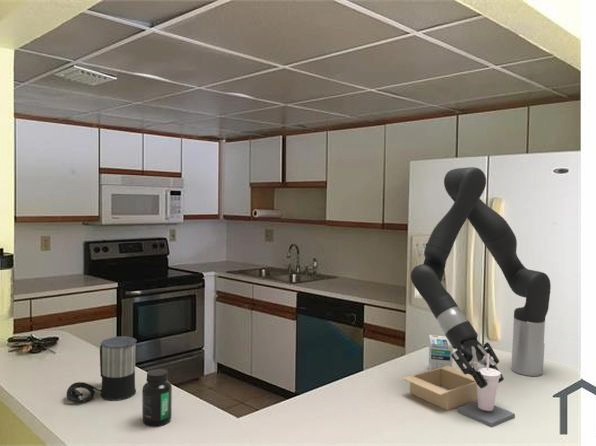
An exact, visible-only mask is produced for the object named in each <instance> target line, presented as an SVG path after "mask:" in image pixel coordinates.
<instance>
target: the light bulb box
mask: <svg viewBox="0 0 596 446" xmlns="http://www.w3.org/2000/svg"><path fill="white" fill-rule="evenodd" d="M428 341H429V342H428V369H429V370H428V371H430V370H434V369H438V368H441V367H445V366H450V367H453V360H454V359H453V358H452V356H451V354H453V353H454V348H453V347H452V345H451V344H450V342H449V341H448V339H447V337H446V336H445V335H444V336H443V335H435V334H434V335H433V334H429V339H428Z"/></svg>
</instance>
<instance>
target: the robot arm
mask: <svg viewBox="0 0 596 446" xmlns="http://www.w3.org/2000/svg"><path fill="white" fill-rule="evenodd" d="M443 185H444V189H445V192H446V193H447V194H448V196H449V197H450V198H451V201H453V204H452V206H451V207H450V209H449V210H448V211H447V212H446V214H445V215H444V216H443V217H442V218H441V220H439V222H438V223H437V224H436V226H435V227H433V230H432V232H431V234H430V236H429V238H428V240H427V243H426V245H425V248H424V250H423V254H424V255H423V256H424V260H423V264H417V265H415V266H414V267H413V269H412V270H411V272H410V282H411V283H412V285H413V286H414V288H415V289H416V290H417V292H418V293H419V295H420V296H421V297H422V298H423V299H422V300H424V301H425V302H426V304H427V305H428V308H429V310H430V312H431V313H432V315H433V316H434V317H435V319H436V321H437V323H438V325H439V328H440V329H441V331H442V332H443V334H444V336H446V337H447V339H448V341H449V342H450V344H451V345H452V347H453V350H454V351H453V354H451V356H452V358H453V359H452V360H454V362H455V363H456V365H457V366H458V368H459V370H461V371H462V372H463V373H464V374H465V375H466V374H470V375H471V376H472V377H473V378H474V380H475V381H476V383H477V385H478V386H479V387H480V388H484V387H486V386H487V385H488V384H487V382H486V380H485V379H484V377H483V376H482V374H481V372H480V371H479V372H478V367H479V366H478V364H479V365H482V366H483V367H487V354H489V368H493V369H496V370H498V371H499V372H500V370H499V368H498V367H497V365H498V364H499V363H500V360H499V358H498V356H497V355H496V352H495V351H494V350H493V347H492V346H491V344H490V342H485V343H484V344H482V343H481V342H480V341H478V336H479V334H478V332H477V331H476V330H475V328H474V326H473V325H472V323H471V322H470V321H469V319H468V318H467V315H466V314H465V313H464V312H463V311H462V310H461V308H460V307H459V306H458V304H457V303H456V301H455V300H454V298H453V297H452V295H451V294H450V292H448V291H447V290H446V288H445V287H444V285H443V284H442V281H443V278H444V273H445V270H446V265H447V260H448V258H449V256H450V254H451V252H452V250H453V246H454V244H455V242H456V239H457V237H458V235H459V234H460V231H461V229H462V227H463V226H464V224H465V222H466V220H468V221H469V223H470V224H471V226H472V228H474V230H475V232H476V233H477V234H478V237H479V238H480V240H481V242H482V243H483V245H484V246H485V247H486V249H487V250H488V252H489V253H490V255H491V256H492V257H493V260H494V261H495V262H496V264H497V265H498V266H499V269H500V270H501V272H502V275H504V278H505V280H506V282H507V284H508V287H509V288H510V290H511V291H512V292H513V293H514V294H515V295H517V296H519V297H522V298H525V303H524V305H523V307H517V308H515V309H514V311H513V323H512V324H513V325H512V326H513V327H512V328H513V329H512V349H511V362H510V363H511V366H510V369H511V371H512V372H515V373H517V374H520V375H524V376H528V377H533V376H534V377H538V376H542V375H543V372H544V360H545V358H544V357H545V327H546V316H547V315H548V312H549V307H550V297H551V287H552V286H551V285H552V284H551V280H550V277H549V275H548V274H546V273H544V272H543V271H538V270H534V269H528V268H527V267H526V266H525V265H524V264H523V263H522V262H521V260H520V258H519V257H518V255H517V254H518V253H517V248H518V247H517V245H518V242H517V237H516V234H515V233H514V231H513V229H512V228H511V226H510V224H509V223H508V222H507V220H506V219H505V218H504V217H503V216H501V215H500V214H499V213H498V212H497V211H495V210H494V209H493V208H491V207H490V206H488V205H487V204H486V203H485V202H484V201H483V200H482V199H481V197H482V195H483V193H484V191H485V188H486V186H487V177H486V175H485V173H484V171H483V170H482V169H481V168H479V167H474V166H473V167H472V166H471V167H468V166H467V167H461V168H460V167H457V168H453V169H450V170H449V171H448V172H446V173H445V176H444V179H443ZM492 358H493V359H492ZM500 373H501V372H500ZM541 374H542V375H541ZM504 379H505V378H504V377H503V375H502V373H501V378H499V382H498V384H499V383H502V382H503V381H504Z"/></svg>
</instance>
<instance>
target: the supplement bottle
mask: <svg viewBox="0 0 596 446" xmlns="http://www.w3.org/2000/svg"><path fill="white" fill-rule="evenodd" d="M168 373H169V372H168V370H166V369H162V368H156V369H151V370H149V371H148V372H147V373H146V382H145V384H144V385H143V386H142V395H141V396H142V397H141V398H142V401H141V402H142V403H141V405H142V408H141V409H142V411H141V414H142V415H141V416H142V419H141V420H142V423H143V424H144V425H145V426H147V427H154V428H156V427H162V426H165V425H168V423H170V421H171V419H172V412H173V411H172V409H173V408H172V406H173V405H172V403H173V401H172V400H173V397H172V395H173V391H172V389H173V387H172V383H171V382H170V381H168V380H169V376H168V375H169V374H168Z"/></svg>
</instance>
